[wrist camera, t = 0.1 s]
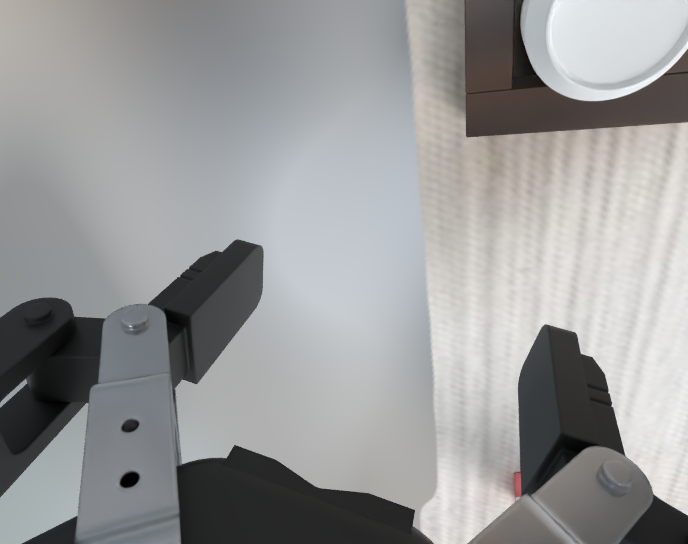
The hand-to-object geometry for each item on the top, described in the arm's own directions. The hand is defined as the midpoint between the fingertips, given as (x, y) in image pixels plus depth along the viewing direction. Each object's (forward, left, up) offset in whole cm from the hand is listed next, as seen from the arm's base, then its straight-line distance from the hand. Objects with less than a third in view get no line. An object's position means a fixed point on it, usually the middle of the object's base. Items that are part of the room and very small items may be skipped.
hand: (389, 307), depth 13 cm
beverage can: (-7, +5, -22) cm, 24 cm away
